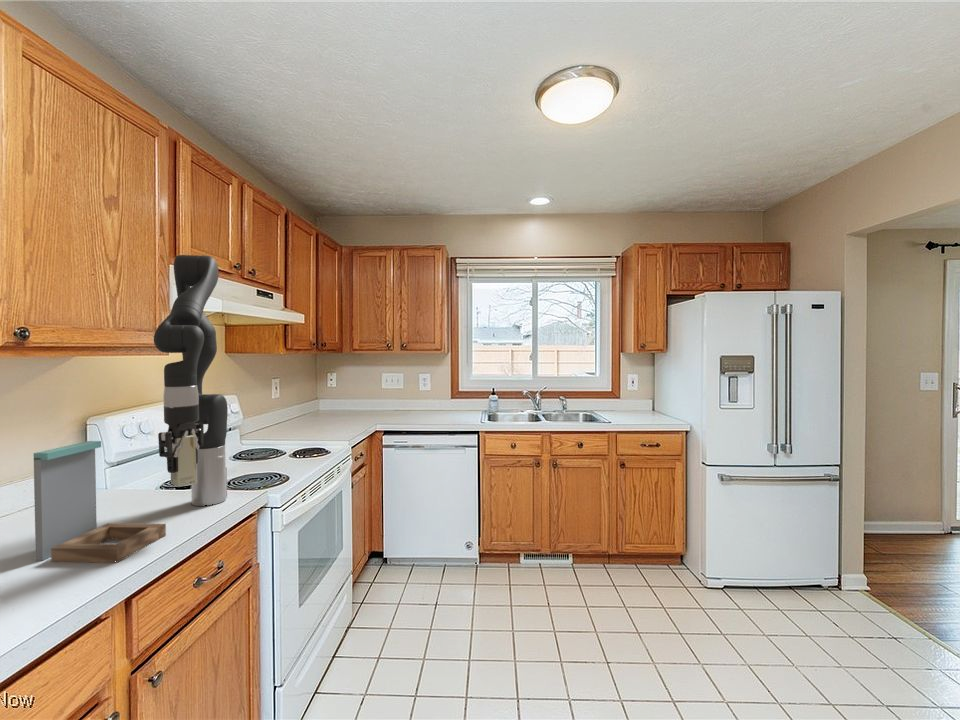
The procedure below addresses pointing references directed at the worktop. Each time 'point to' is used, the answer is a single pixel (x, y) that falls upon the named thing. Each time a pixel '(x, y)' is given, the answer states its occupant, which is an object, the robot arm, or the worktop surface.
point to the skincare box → (185, 463)
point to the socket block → (93, 551)
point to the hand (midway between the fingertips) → (183, 468)
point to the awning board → (64, 495)
